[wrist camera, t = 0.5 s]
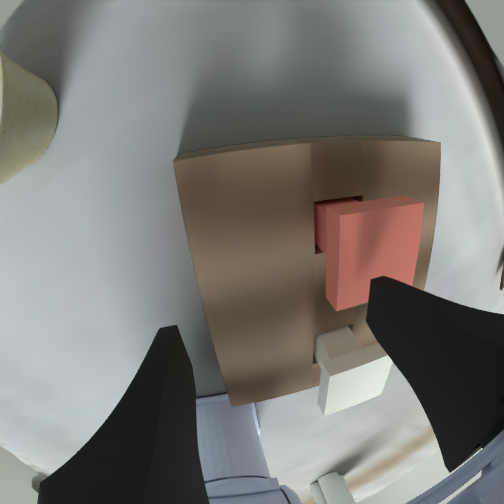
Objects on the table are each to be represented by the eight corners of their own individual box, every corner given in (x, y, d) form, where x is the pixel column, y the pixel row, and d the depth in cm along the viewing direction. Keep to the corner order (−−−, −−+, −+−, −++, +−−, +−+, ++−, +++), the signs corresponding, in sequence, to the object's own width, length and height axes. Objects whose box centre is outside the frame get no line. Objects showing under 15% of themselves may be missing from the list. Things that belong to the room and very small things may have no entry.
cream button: (350, 348, 21) (381, 394, 17) (299, 363, 21) (323, 416, 16) (356, 305, 19) (395, 351, 15) (299, 321, 19) (329, 376, 14)
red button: (361, 246, 17) (411, 287, 13) (297, 260, 17) (336, 311, 12) (363, 178, 15) (423, 202, 11) (293, 186, 15) (340, 215, 10)
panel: (384, 327, 26) (406, 352, 22) (224, 371, 23) (231, 407, 20) (403, 136, 18) (440, 142, 14) (177, 154, 16) (173, 161, 12)
